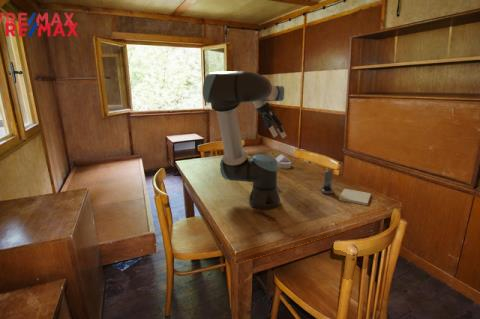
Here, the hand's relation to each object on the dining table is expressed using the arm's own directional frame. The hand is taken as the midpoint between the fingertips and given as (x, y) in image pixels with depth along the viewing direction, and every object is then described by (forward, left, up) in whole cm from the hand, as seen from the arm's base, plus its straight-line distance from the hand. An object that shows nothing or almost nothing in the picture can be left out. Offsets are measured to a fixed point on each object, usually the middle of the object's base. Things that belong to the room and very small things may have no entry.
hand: (280, 136), depth 157 cm
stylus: (-7, -31, -26) cm, 41 cm away
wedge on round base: (+25, +7, -26) cm, 37 cm away
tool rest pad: (-7, -45, -26) cm, 52 cm away
